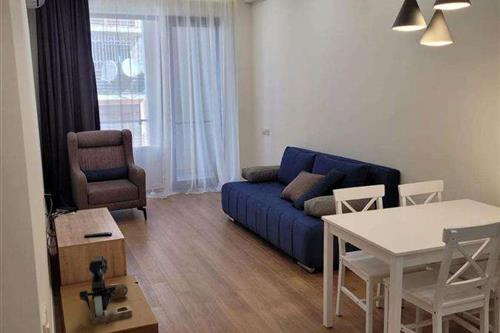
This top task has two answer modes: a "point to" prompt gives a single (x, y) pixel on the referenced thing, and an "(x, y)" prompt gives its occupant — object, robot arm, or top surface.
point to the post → (98, 306)
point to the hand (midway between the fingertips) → (98, 307)
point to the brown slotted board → (112, 314)
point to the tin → (119, 290)
